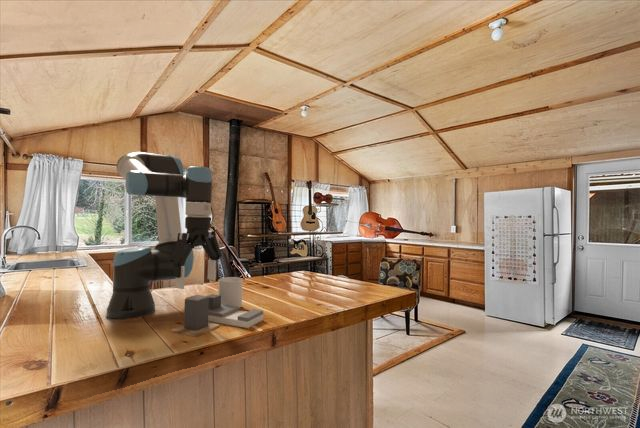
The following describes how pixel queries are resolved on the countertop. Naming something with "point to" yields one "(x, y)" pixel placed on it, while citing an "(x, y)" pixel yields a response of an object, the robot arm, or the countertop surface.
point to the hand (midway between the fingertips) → (196, 283)
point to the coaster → (193, 332)
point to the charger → (196, 312)
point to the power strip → (231, 314)
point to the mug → (230, 291)
